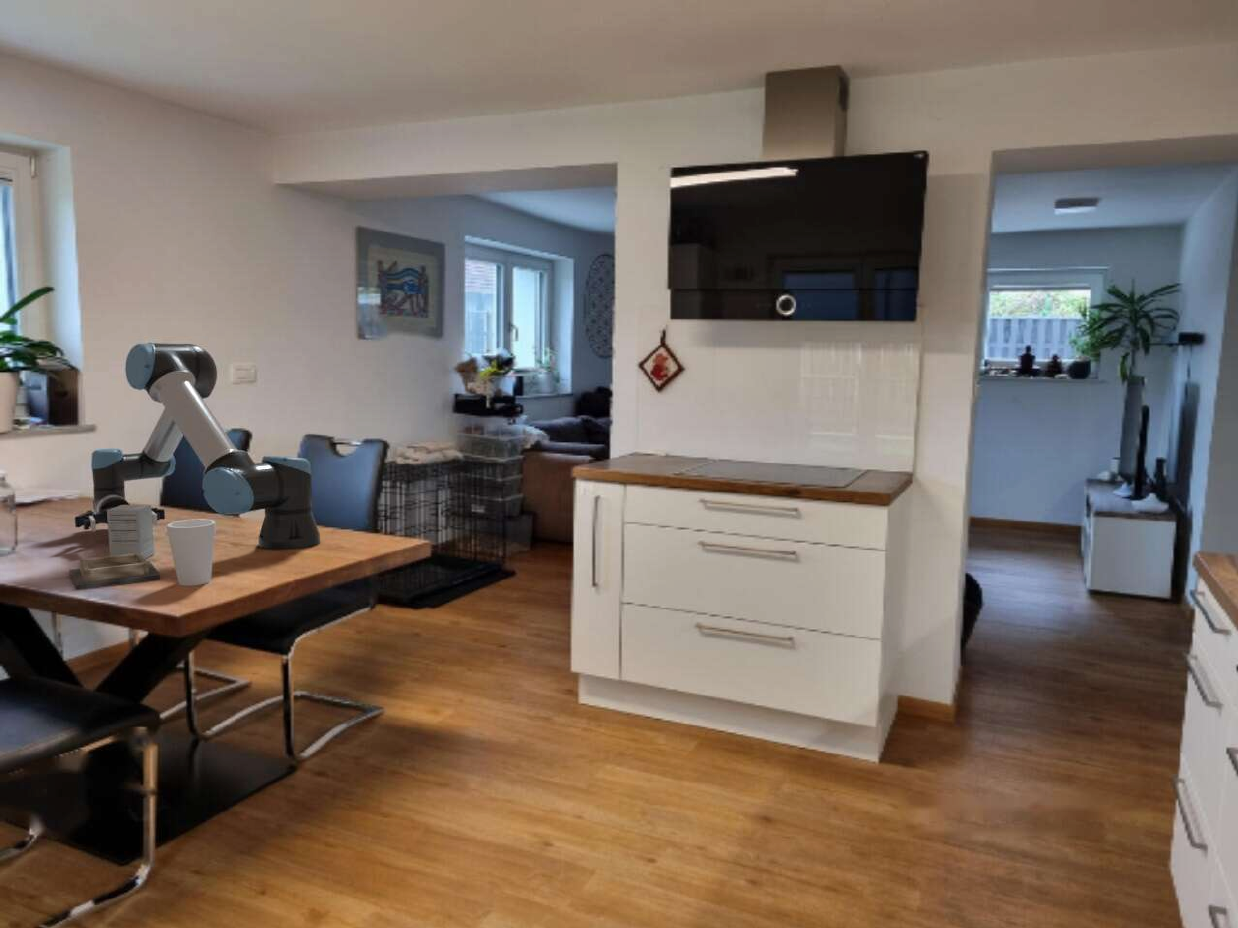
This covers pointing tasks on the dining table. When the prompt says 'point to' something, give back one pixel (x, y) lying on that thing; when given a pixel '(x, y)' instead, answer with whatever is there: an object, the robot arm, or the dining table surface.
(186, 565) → the foam cup
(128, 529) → the supplement box
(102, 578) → the keeper cradle
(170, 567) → the dining table surface
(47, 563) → the dining table surface
